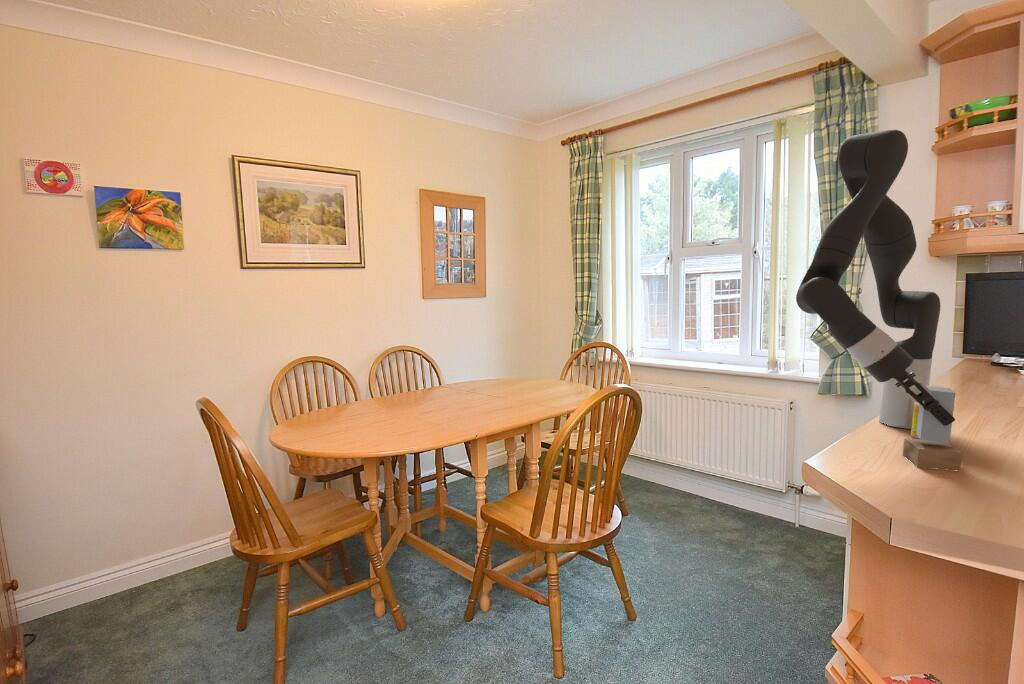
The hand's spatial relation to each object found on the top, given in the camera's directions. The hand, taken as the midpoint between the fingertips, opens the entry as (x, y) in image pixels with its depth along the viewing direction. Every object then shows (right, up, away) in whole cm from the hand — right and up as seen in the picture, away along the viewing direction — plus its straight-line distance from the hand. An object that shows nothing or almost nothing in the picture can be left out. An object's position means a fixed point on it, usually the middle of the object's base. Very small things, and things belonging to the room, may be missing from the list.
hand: (946, 419), depth 102 cm
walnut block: (-2, -9, +2) cm, 10 cm away
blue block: (-2, -4, +1) cm, 5 cm away
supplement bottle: (+7, -8, +13) cm, 17 cm away
